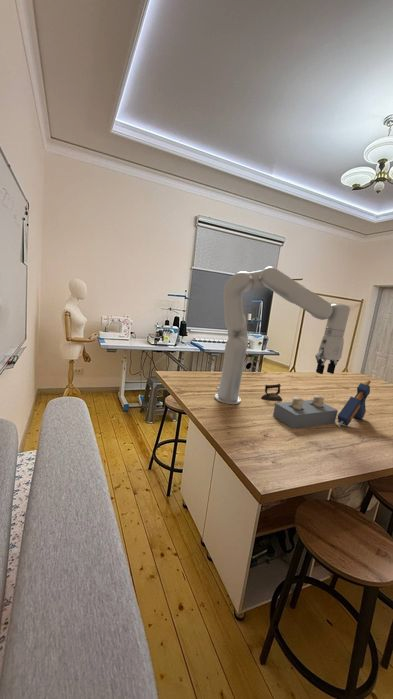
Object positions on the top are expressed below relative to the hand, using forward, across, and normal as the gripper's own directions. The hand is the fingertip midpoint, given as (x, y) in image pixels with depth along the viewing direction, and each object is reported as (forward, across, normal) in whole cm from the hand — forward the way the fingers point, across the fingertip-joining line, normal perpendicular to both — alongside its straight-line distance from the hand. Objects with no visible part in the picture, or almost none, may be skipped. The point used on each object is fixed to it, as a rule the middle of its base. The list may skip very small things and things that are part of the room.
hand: (324, 372), depth 126 cm
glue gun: (+22, +16, -7) cm, 28 cm away
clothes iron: (+22, -5, +24) cm, 33 cm away
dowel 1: (+18, -13, 0) cm, 22 cm away
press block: (+22, -6, 0) cm, 23 cm away
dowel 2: (+18, 0, 0) cm, 18 cm away
